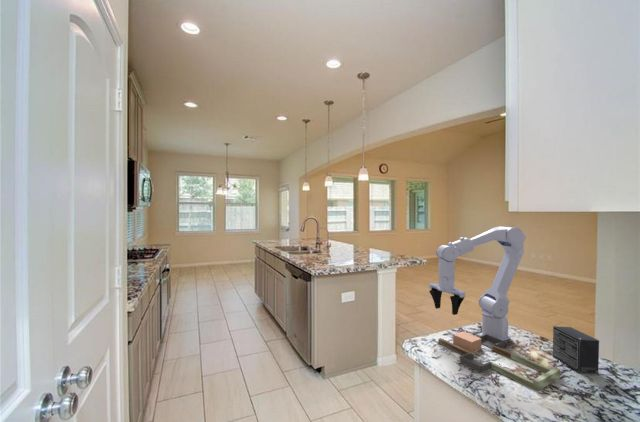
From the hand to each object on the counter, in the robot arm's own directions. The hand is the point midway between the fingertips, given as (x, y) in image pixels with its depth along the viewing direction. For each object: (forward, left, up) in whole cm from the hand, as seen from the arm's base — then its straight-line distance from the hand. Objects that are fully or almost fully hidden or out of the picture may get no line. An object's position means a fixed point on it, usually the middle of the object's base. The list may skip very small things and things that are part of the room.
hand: (446, 311), depth 111 cm
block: (0, +9, -11) cm, 14 cm away
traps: (0, +15, -10) cm, 18 cm away
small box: (-20, +33, -11) cm, 40 cm away
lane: (0, +18, -10) cm, 21 cm away
